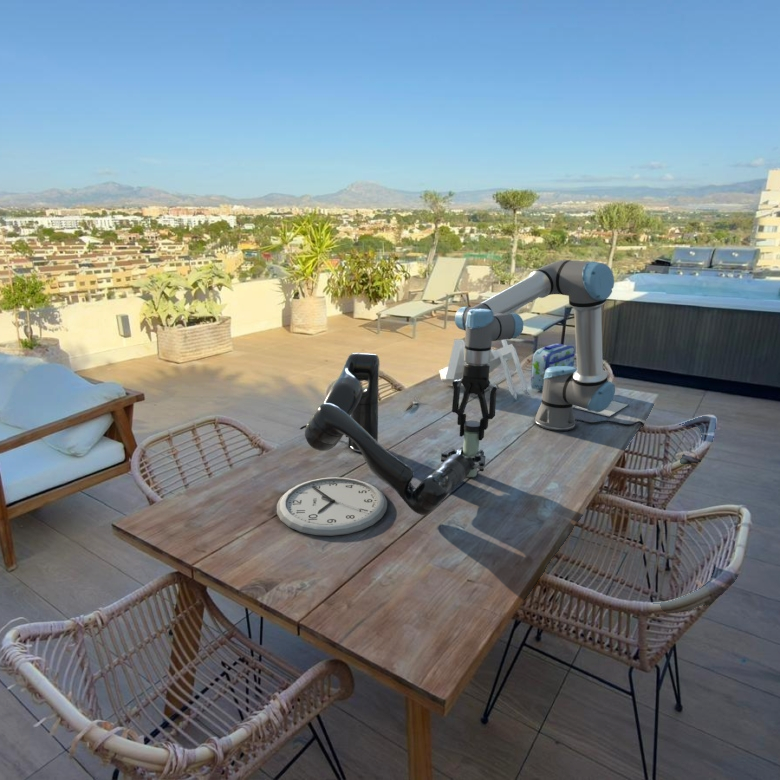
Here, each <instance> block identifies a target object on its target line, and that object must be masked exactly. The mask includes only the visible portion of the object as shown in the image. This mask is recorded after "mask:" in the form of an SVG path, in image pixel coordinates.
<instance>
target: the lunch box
mask: <svg viewBox="0 0 780 780" xmlns="http://www.w3.org/2000/svg"><path fill="white" fill-rule="evenodd" d="M575 356H576V348H575V346H573V345H568V344H562V343H553V344H550V345H547V346H546V345H545V346H544V347H541V348H538V349H537V350H536V351H535V352H534V354H533V357H532V362H531V371H530V372H531V374H530V387H531V389H533V390H539V391H543V381H544V379H543V378H544V375H545V370H546V369H547V368H549V367H555V366H571V367H574V363H575Z"/></svg>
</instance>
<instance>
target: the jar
mask: <svg viewBox="0 0 780 780" xmlns="http://www.w3.org/2000/svg"><path fill="white" fill-rule="evenodd" d="M462 443H463V445H462V447H463V455H464V456H469V455H472V454H474V455H475V454H477V453H478V452H479V451H480V449H479V448H480V440H479V432H467V431H465V430H464V435H463V442H462ZM477 474H478V468H474V469H473V470H471V471H470V472H469V474H468V475H467V476H466V477H465V478H475V477H476V476H477Z"/></svg>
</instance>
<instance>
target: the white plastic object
mask: <svg viewBox="0 0 780 780" xmlns="http://www.w3.org/2000/svg"><path fill="white" fill-rule="evenodd" d="M507 340H508V339H504V340H500V342H501V345H502V347H500V348H498V349H496V350H495V349H493V348H492V347H491V355H490V362H489V363H488V364H489V365H490V368H489V374H490V373H492V372H494V371H495V370H496V369H497V368H499V367H500V366H502V370H503V373H504V376H505V380H506V383H507V386H508V390H509V393H510V394H511V395H512V397H513V398H514V399H515V400H517V392H516V391H517V390H516V388H515V385H514V381H513V378H512V375H511V371H510V369H509V365H508V361H510V360H513V363H514V366H515V369H516V372H517V376H518V380H519V382H520V385H521V389H522V391H523V393H524V395H525V396H526V397H528V396H531V395H530V390H529V388H528V387H529V386H528V384H527V381H526V378H525V375H524V371H523V369H522V368H523V367H522V366H521V362H520V359H519V355H518V352H517V349H516V347H515V346H514V345H513V343H511V344H508V341H507ZM464 351H465V339H463V338H460V339H458V338H454V340H453V344H452V349H451V353H450V357H449V362H448V366H446V367H444V368H442V369H440V370H439V371H438V372H439V376H440V381H442V383H443V384H444V385H445V386H449V385H453V384H452V383H453V381H455V380H456V379H458V380H461V379H462V377H463V367H464V363H465V361H464Z"/></svg>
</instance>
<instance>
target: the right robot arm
mask: <svg viewBox="0 0 780 780" xmlns="http://www.w3.org/2000/svg"><path fill="white" fill-rule="evenodd" d="M614 287H615V277H614V273H613V271H612V269H611V268H610V266H609V265H607V264H606V263H604V262H598V261H595V260H594V261H593V260H592V261H586V260H572V259H561V260H558V261H554V262H551V263H548V264H545V265H544V266H542V267H539V268H537V269H536V270H533V271H532V272H530V273H529V275H528V276H527V278H525V279H523V280H522V281H520V282H517V283H515V284H514V285H512V286H510V287H508V288H506V289H505V290H503V291H500V292H499V293H497V294H495V295H493V296H491V297H489V298H488V299H486V300H483V301H482V302H480V303H478V304H476V305H474V306H472V307H471V306H462V307H460V308H459V309H458V310H456V312H455V316H454V323H455V325H456V327H457V328H458V329H459V330H461V331H464V333H465V335H464V337H465V338H464V342H465V351H464V361H465V363H464V367H463V377H462V379H461V380H458V379H456V380H455V381H453V383H452V384H451V385H452V387H453V395H452V404H451V405H452V407H451V412H452V413H453V414H456V415H457V425H458V426H459V437H460V438H463V437H464V429H463V425H464V422H465V421H467V413H465V410H466V407H467V405H468V402H469V399H470V396H471V395H472V394H474V395H476V396H477V398H478V401H479V402H478V403H479V406H480V412H481V416H482V417H481V418H480V419H479V422H480V429H479V441H482V440H484V438H485V431H486V430H487V429H488V427H489V420H493V418H495V417H496V407H497V406H496V405H497V392H498V390H499V388H500V387H499V385H498V384H495V385H494V384H492V383H491V381H490V373H489V368H490V365H489V364H488V363H489V362H490V355H491V348H492V342H496V341H501V340H504V339H506V340H512V339H515V338H517V337H519V336H521V334H522V333H523V331H524V319H523V318H522V317H521V315H520V314H518V313H515V311H517V310H519V309H520V308H522V307H524V306H526V305H528V304H530V303H531V302H533V301H535V300H536V299H543V298H547V297H548V296H551V295H562V296H567V297H568V304H569V306H570V307H571V308H573V311H574V312H573V313H574V314H573V315H574V336H575V337H574V338H575V357H576V366H573V367H571V366H555V367H549V368H547V369H546V370H545V375H544V378H543V379H544V381H543V390H541V391H542V394H541V402H540V405H539V407H538V410H537V411H536V413H535V415H534V424H535V425H536V426H537V427H539V428H542V429H544V430H549V431H556V432H567V431H572V430H574V429H575V428H576V422H579V423H585V424H588V425H597V424H601V423H610V424H615V425H619V426H624V427H625V426H626V427H632V426H636V425H638V424H640V425H643V426H644V425H645V424H644V422H642V421H641V420H637V421H635V422H633V423H623V422H619V421H615V420H598V421H587V420H584V419H583V420H582V419H577V418H575V417H576V416H575V413H574V407H573V406H575V407H576V406H579V407H582V408H585V409H588V410H589V411H595V412H601V411H603V410H605V409H606V408H607V407H608V406H609V405H610V403H611V401H614V397H615V394H616V386H615V384H614V383H613V382H612V381H608V379H609V378H608V376H609V375H608V372H607V371H606V370H605V369H604V364H603V321H602V319H603V318H602V317H603V315H602V307H603V305H604V304H606V303H607V299H608V298H610V296H611V295H612V293H613V289H614ZM461 386H462V387H463V388H464V389H465V390H464V392H463V397H462V399H461V402H460V395H461ZM487 389H488V391H489V405H488V403H487V399H486V390H487ZM488 406H489V407H488Z"/></svg>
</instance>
